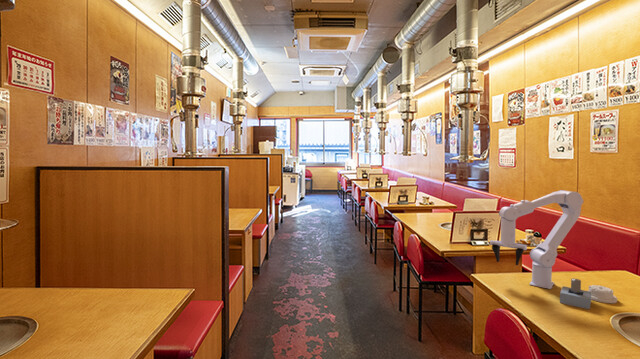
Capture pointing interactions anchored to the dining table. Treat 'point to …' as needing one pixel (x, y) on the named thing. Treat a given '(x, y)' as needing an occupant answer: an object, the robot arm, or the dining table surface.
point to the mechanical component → (602, 294)
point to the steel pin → (576, 286)
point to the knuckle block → (575, 298)
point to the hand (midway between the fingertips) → (507, 263)
